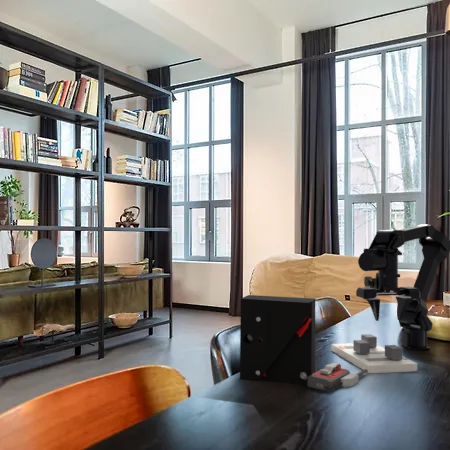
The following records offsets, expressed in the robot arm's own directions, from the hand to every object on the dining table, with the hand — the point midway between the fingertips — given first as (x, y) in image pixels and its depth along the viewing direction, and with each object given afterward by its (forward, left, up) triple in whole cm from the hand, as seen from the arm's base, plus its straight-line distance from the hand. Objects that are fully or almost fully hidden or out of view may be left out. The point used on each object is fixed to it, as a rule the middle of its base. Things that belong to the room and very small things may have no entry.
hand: (388, 320), depth 142 cm
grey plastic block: (+6, 0, -7) cm, 10 cm away
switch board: (+9, +7, -10) cm, 15 cm away
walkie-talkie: (+27, +24, -11) cm, 37 cm away
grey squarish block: (+6, +14, -8) cm, 17 cm away
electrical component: (+41, +19, -10) cm, 47 cm away
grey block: (+12, +7, -8) cm, 16 cm away
